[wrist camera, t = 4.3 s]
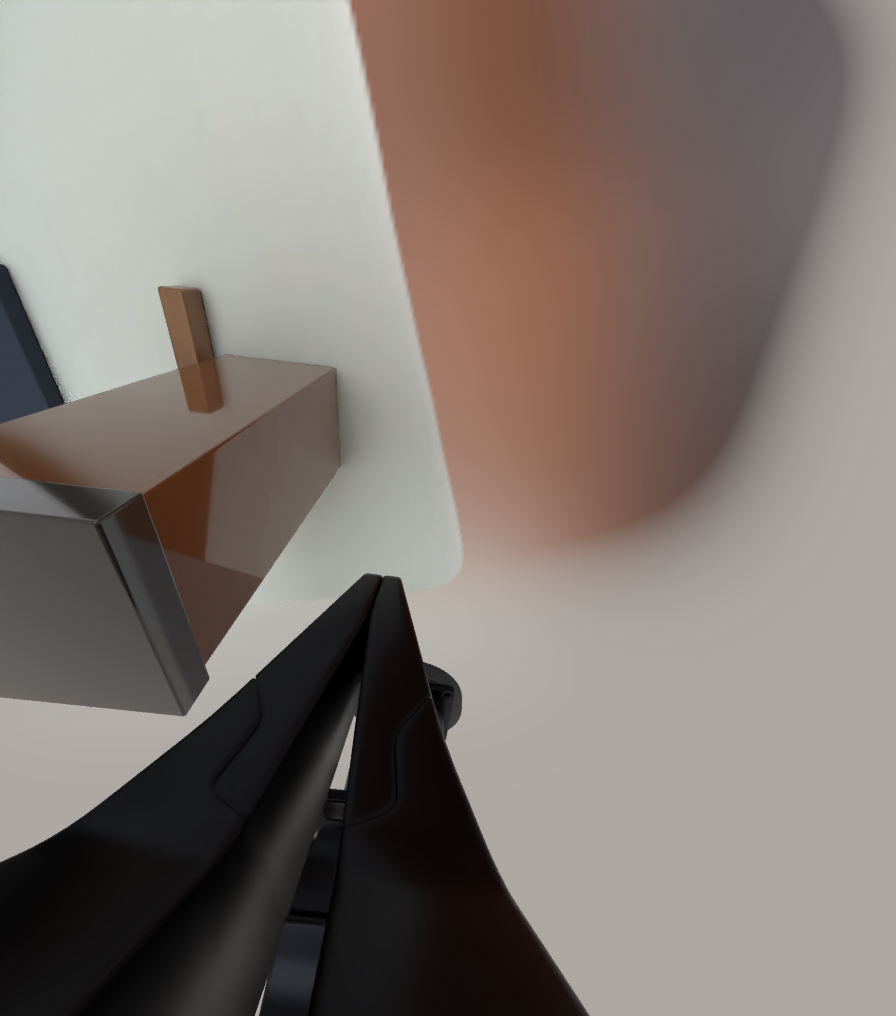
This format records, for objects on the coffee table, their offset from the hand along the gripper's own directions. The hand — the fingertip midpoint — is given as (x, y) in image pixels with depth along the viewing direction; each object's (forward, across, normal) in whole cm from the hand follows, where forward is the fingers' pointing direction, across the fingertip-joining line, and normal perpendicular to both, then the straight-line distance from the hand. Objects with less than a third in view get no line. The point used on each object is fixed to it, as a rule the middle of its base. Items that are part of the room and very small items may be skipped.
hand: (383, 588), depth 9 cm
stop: (+11, +10, 0) cm, 15 cm away
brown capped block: (+11, +7, 0) cm, 13 cm away
